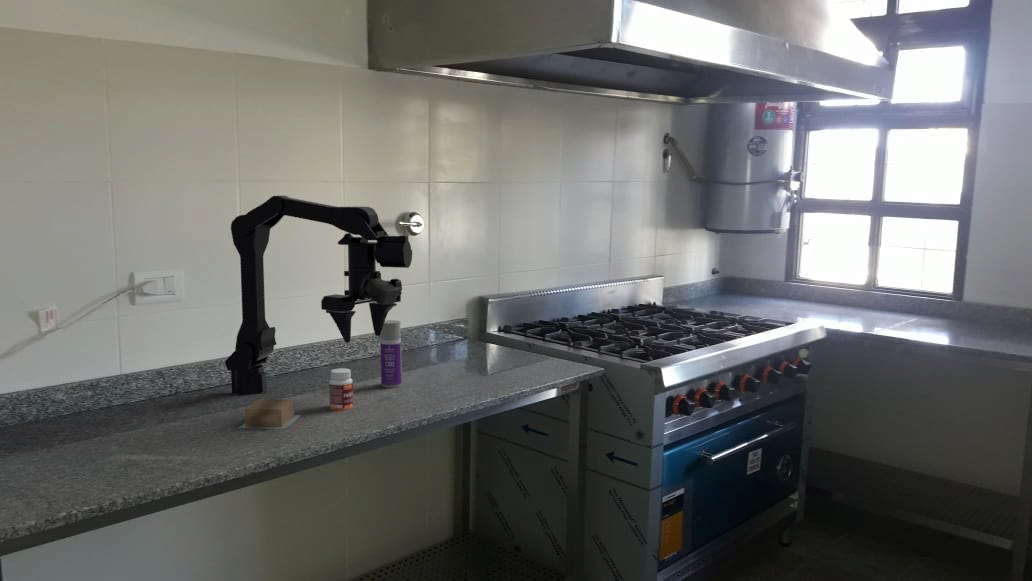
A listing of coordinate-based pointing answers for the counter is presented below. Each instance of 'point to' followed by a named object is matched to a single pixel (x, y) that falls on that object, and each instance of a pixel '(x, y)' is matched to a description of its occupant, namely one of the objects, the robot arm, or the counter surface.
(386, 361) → the container
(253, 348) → the robot arm
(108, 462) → the counter surface
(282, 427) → the plate
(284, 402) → the walnut block
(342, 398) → the pill bottle
